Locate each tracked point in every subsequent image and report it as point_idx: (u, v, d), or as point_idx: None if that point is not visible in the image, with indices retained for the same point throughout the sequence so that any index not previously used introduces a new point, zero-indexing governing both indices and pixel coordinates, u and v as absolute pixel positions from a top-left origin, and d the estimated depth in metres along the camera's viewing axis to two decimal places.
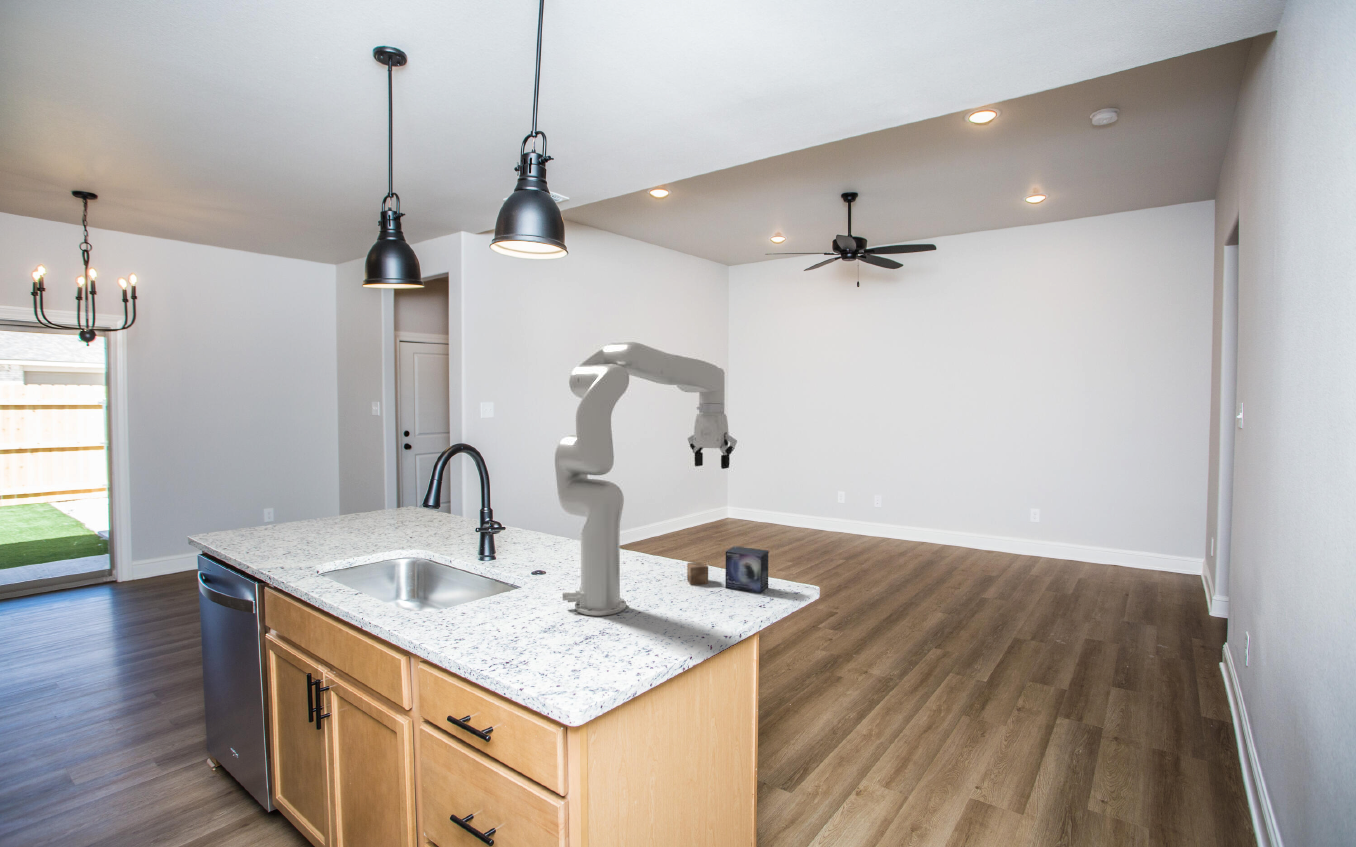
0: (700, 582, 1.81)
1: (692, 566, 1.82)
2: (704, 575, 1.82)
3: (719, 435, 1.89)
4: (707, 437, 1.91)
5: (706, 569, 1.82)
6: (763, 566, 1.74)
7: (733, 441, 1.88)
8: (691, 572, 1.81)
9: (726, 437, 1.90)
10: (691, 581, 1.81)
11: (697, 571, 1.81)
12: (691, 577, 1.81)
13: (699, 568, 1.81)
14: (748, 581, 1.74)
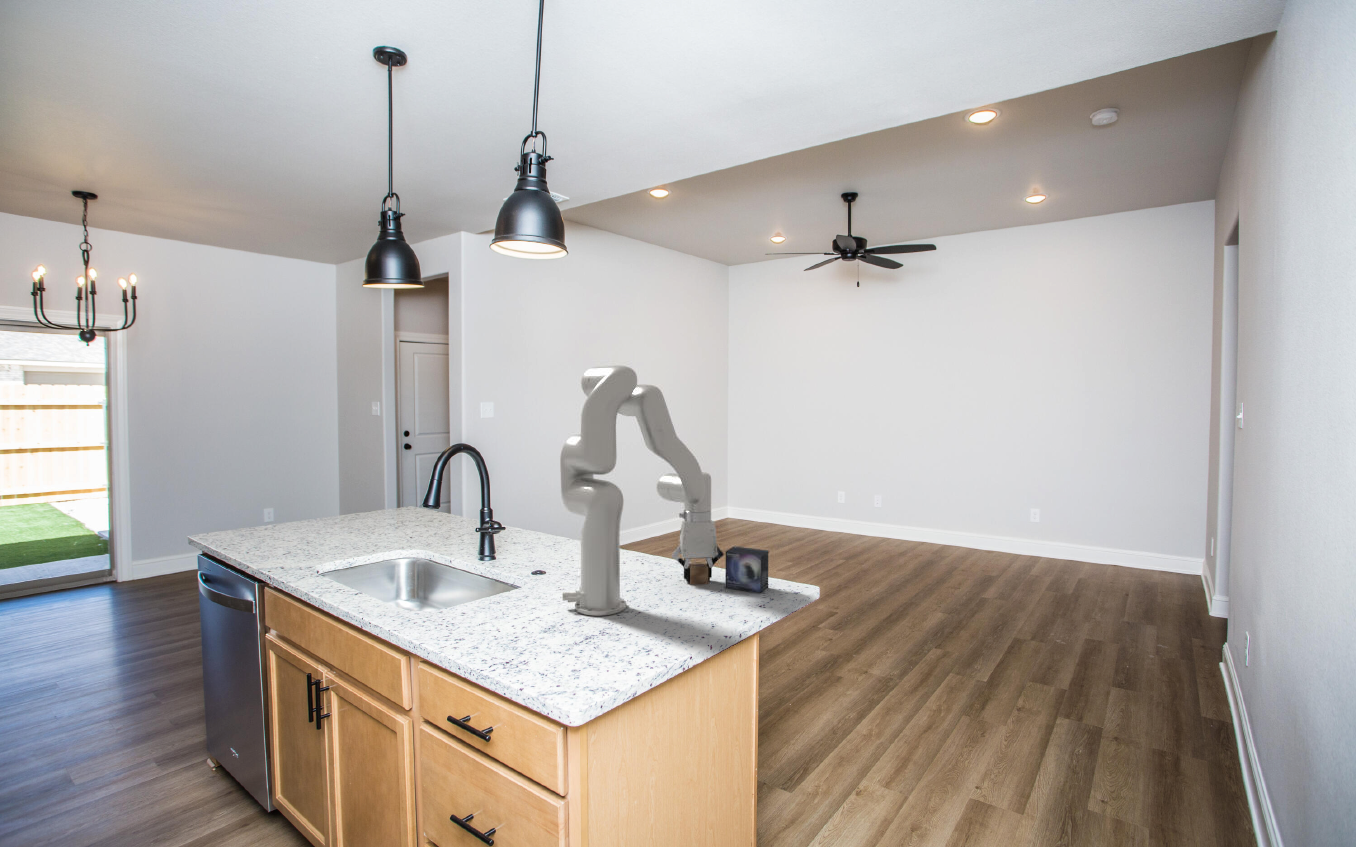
0: (700, 582, 1.81)
1: (692, 566, 1.82)
2: (704, 575, 1.82)
3: (716, 543, 1.82)
4: (701, 547, 1.81)
5: (706, 569, 1.82)
6: (763, 566, 1.74)
7: (722, 554, 1.84)
8: (691, 572, 1.81)
9: None
10: (691, 581, 1.81)
11: (697, 571, 1.81)
12: (691, 577, 1.81)
13: (699, 568, 1.81)
14: (748, 581, 1.74)
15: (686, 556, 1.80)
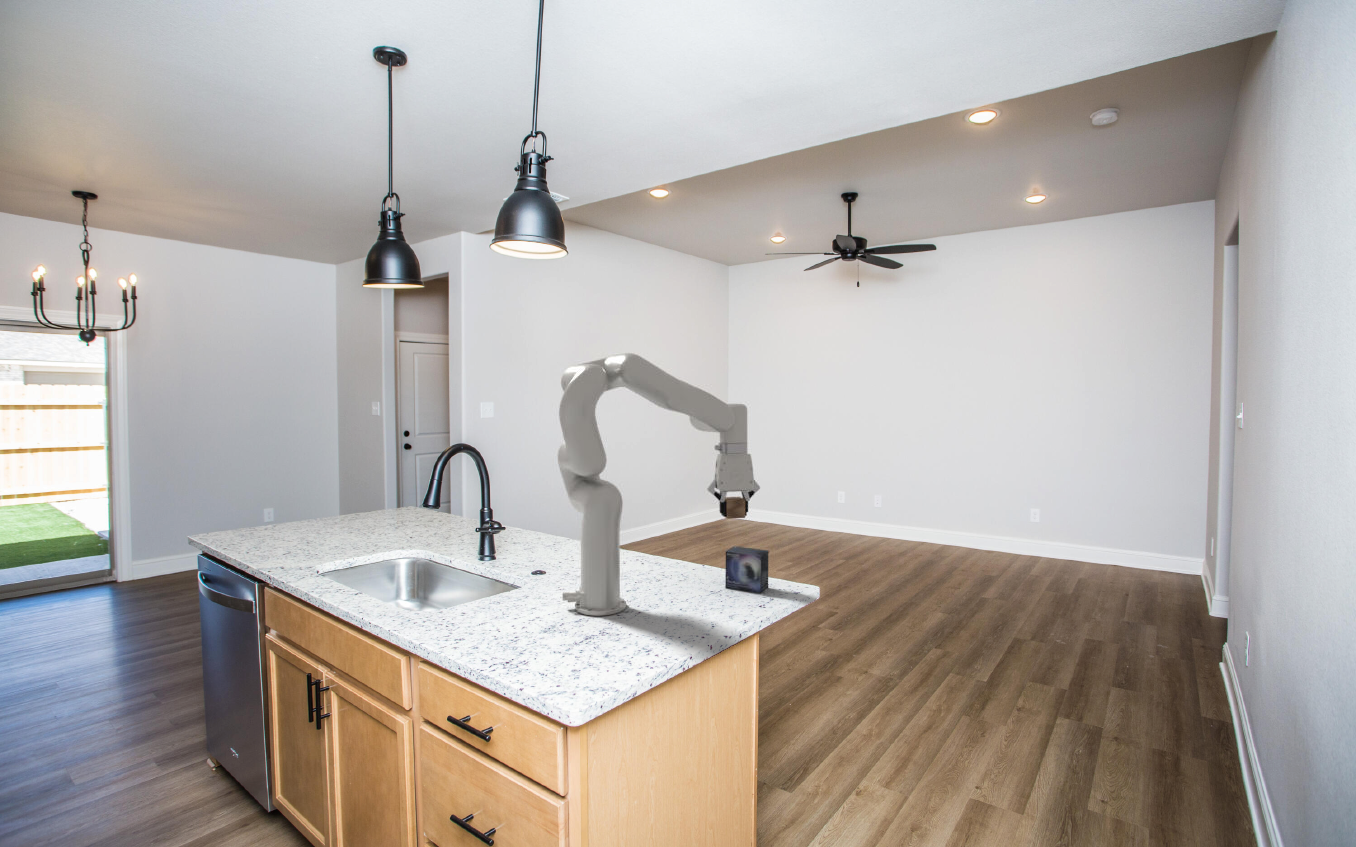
0: (737, 516, 1.77)
1: (728, 499, 1.77)
2: (740, 508, 1.77)
3: (752, 476, 1.77)
4: (738, 480, 1.76)
5: (743, 502, 1.77)
6: (763, 566, 1.74)
7: (758, 487, 1.79)
8: (728, 505, 1.76)
9: None
10: (728, 514, 1.76)
11: (733, 504, 1.76)
12: (728, 510, 1.76)
13: (736, 501, 1.76)
14: (748, 581, 1.74)
15: (723, 489, 1.75)
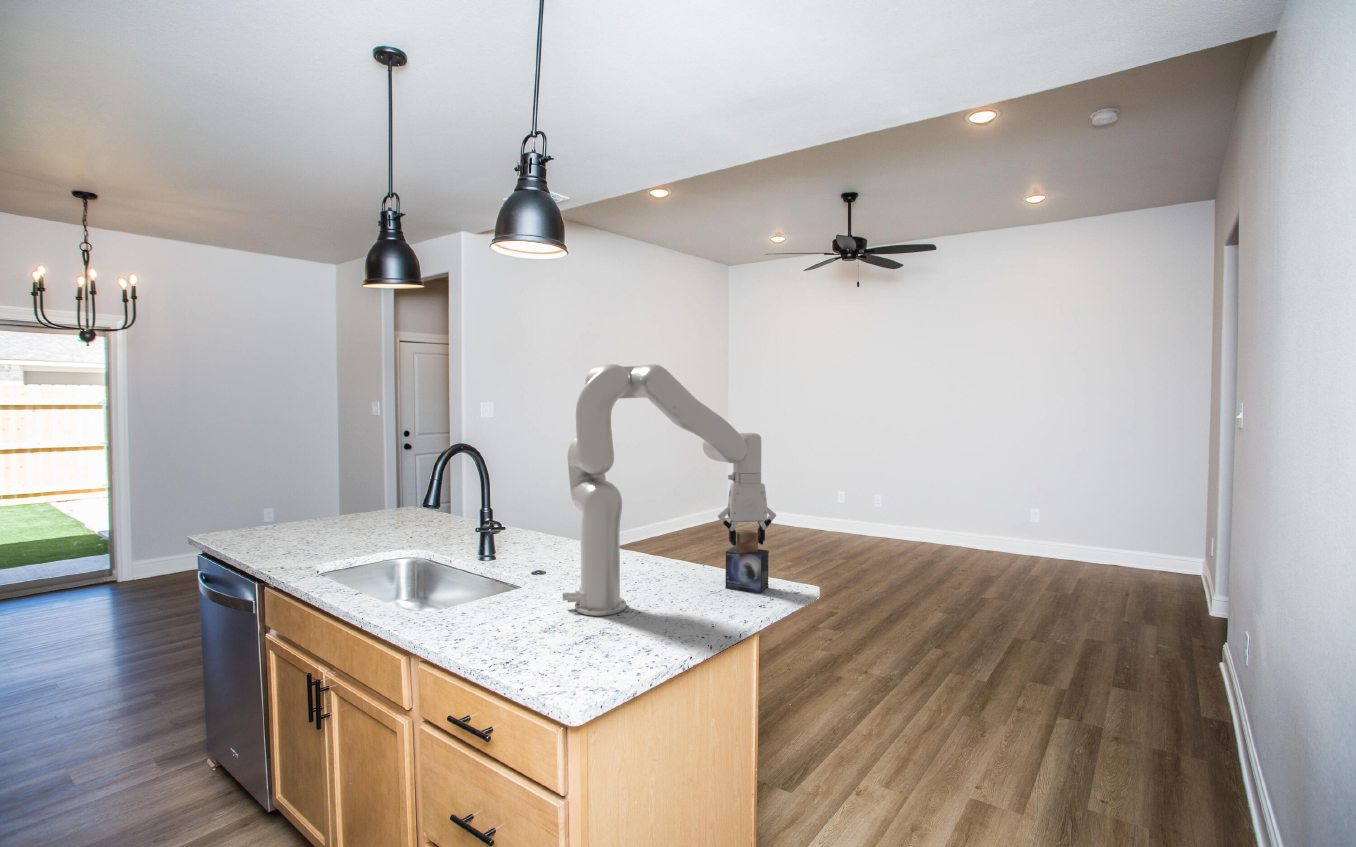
0: (750, 550, 1.75)
1: (741, 533, 1.76)
2: (753, 542, 1.75)
3: (766, 506, 1.75)
4: (751, 510, 1.74)
5: (756, 536, 1.75)
6: (763, 566, 1.74)
7: (774, 515, 1.78)
8: (741, 539, 1.75)
9: (766, 509, 1.77)
10: (740, 548, 1.75)
11: (746, 538, 1.75)
12: (741, 544, 1.75)
13: (749, 535, 1.75)
14: (748, 581, 1.74)
15: (736, 519, 1.74)
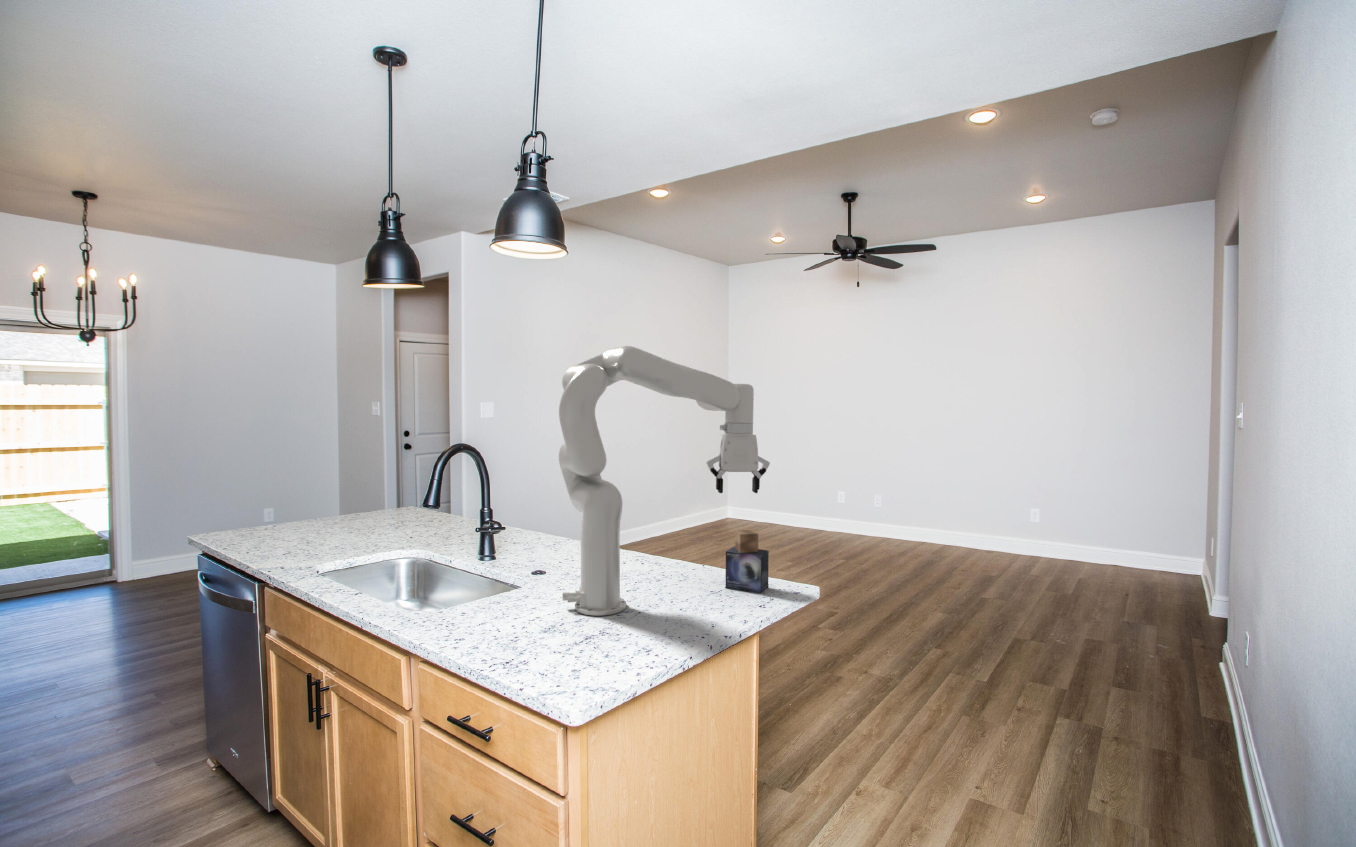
0: (750, 550, 1.75)
1: (741, 533, 1.76)
2: (754, 542, 1.75)
3: (757, 457, 1.75)
4: (742, 460, 1.75)
5: (756, 536, 1.75)
6: (763, 566, 1.74)
7: (768, 463, 1.78)
8: (741, 539, 1.75)
9: (759, 459, 1.78)
10: (741, 548, 1.75)
11: (747, 538, 1.75)
12: (741, 544, 1.75)
13: (749, 535, 1.75)
14: (748, 581, 1.74)
15: (727, 469, 1.74)
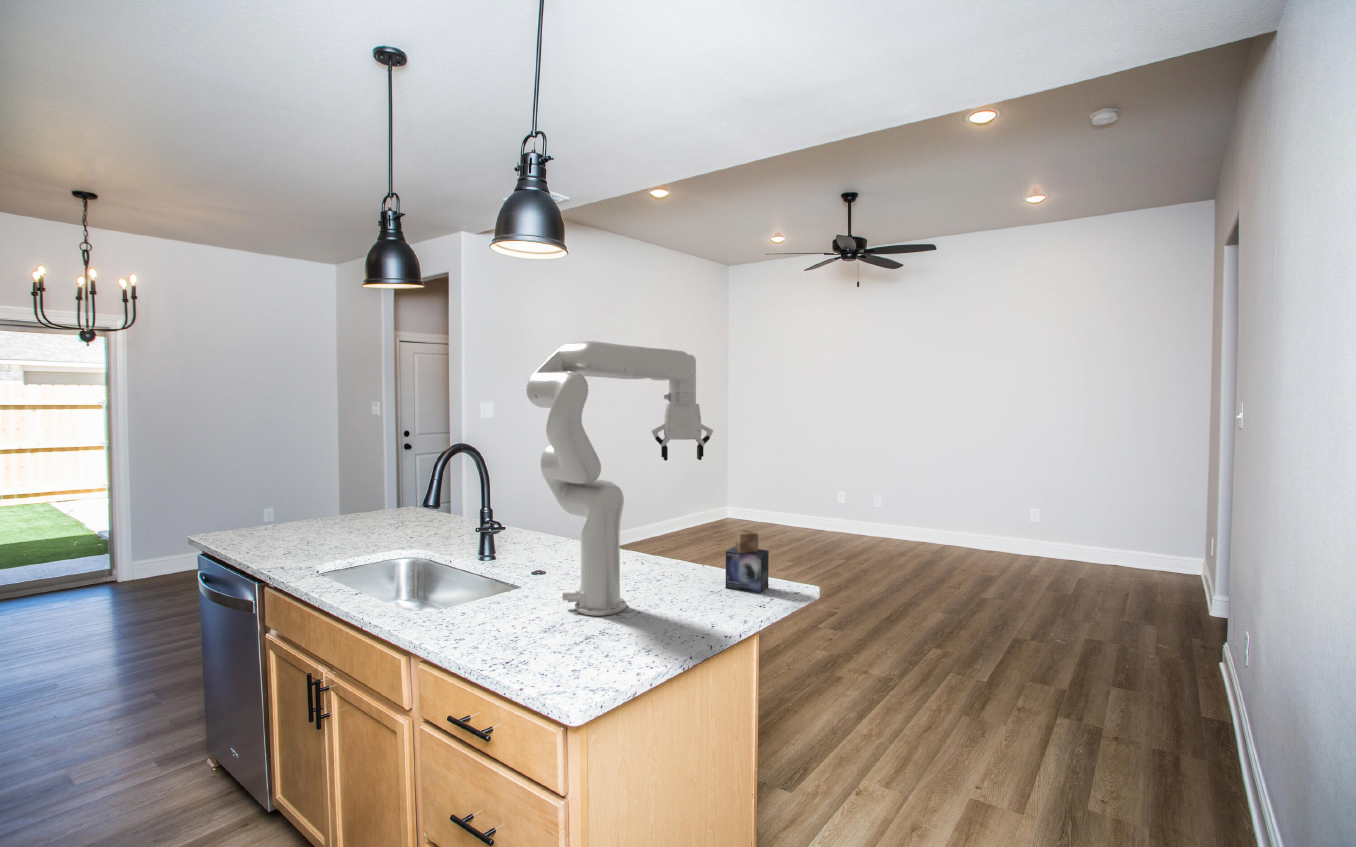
0: (750, 550, 1.75)
1: (741, 533, 1.76)
2: (753, 542, 1.75)
3: (700, 425, 1.82)
4: (685, 428, 1.81)
5: (756, 536, 1.75)
6: (763, 566, 1.74)
7: (711, 431, 1.84)
8: (741, 539, 1.75)
9: (702, 427, 1.84)
10: (741, 548, 1.75)
11: (746, 538, 1.75)
12: (741, 544, 1.75)
13: (749, 535, 1.75)
14: (748, 581, 1.74)
15: (670, 436, 1.80)
